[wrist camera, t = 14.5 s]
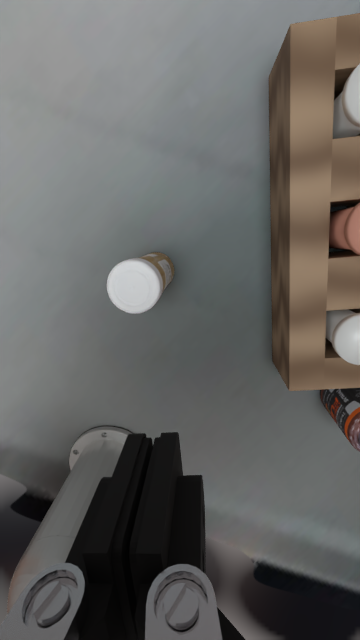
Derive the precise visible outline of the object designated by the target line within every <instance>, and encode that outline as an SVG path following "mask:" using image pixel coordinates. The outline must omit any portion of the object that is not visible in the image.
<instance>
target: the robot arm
mask: <svg viewBox="0 0 360 640" xmlns="http://www.w3.org/2000/svg"><path fill="white" fill-rule="evenodd" d="M69 466H70V471H71V472H70V473H69V475H68V477H67V479H66V480H65V482H64V484H63V486H62V487H61V489H60V491H59V493H58V494H57V496H56V498H55V500H54V501H53V503H52V505H51V507H50V508H49V510H48V512H47V514H46V516H45V517H44V519H43V521H42V523H41V524H40V526H39V528H38V530H37V531H36V533H35V535H34V537H33V539H32V540H31V542H30V544H29V545H28V547H27V549H26V551H25V552H24V554H23V556H22V558H21V560H20V562H19V563H18V565H17V567H16V569H15V572H14V575H13V577H12V580H11V584H10V589H9V594H8V605H7V616H6V618H5V619H4V621H3V622H2V624H1V625H0V640H245V639H244V637H243V636H242V635H241V634H240V633H239V632H238V631H237V629H236V628H235V627H234V626H233V625H232V624H231V623H230V621H229V620H228V619H227V618H226V617H225V616H224V614H223V613H222V612H221V611H220V610H219V609H218V608H217V605H216V599H215V594H214V590H213V588H212V584H211V582H210V581H209V579H208V578H207V576H206V575H205V572H206V571H205V570H206V569H205V505H204V491H203V480H202V475H187V476H183V471H182V462H181V452H180V443H179V435H178V432H172V433H161V437H159V438H155V440H154V445H153V444H152V439H151V438H146V434H145V433H142V434H132V433H131V432H129V431H127V430H124V429H121V428H117V427H106V426H103V427H97V428H94V429H91V430H88V431H87V432H85V433H84V434H82V435H81V436H80V437H79V438H78V439H77V441H76V442H75V444H74V445H73V447H72V449H71V451H70V455H69Z"/></svg>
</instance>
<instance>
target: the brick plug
mask: <svg viewBox="0 0 360 640" xmlns="http://www.w3.org/2000/svg"><path fill="white" fill-rule="evenodd" d="M329 248H336V249H350V250H352V251H353V252H355V253H356V254H358V255H360V203H358V204H357V205H356V206H355V207H352V208H347V209H342V210H338V211H333V212H330V225H329Z"/></svg>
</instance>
